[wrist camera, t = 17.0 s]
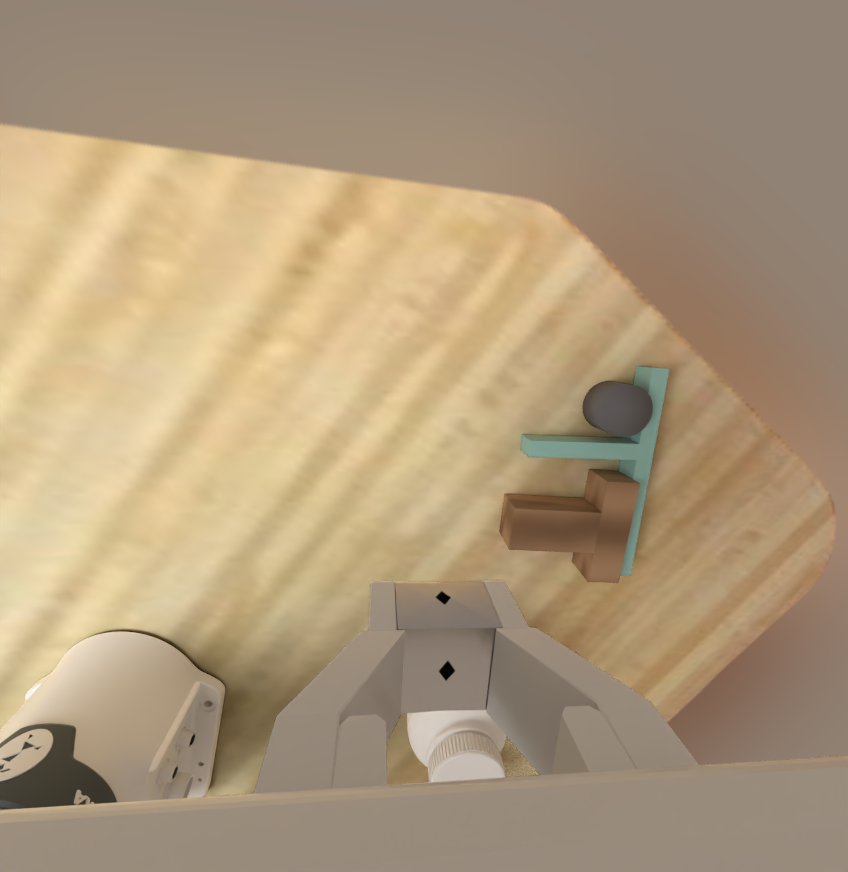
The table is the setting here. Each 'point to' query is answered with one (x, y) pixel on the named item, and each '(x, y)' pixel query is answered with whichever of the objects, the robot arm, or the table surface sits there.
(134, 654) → the robot arm
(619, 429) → the grey rounded lump
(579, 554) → the t block
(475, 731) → the pill bottle
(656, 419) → the rail
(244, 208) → the table surface
